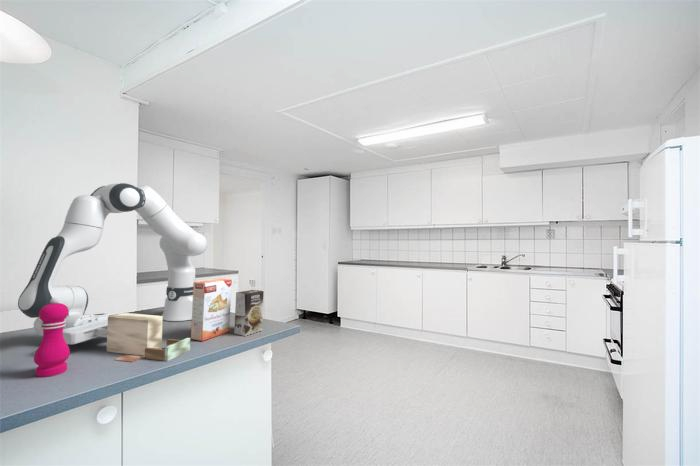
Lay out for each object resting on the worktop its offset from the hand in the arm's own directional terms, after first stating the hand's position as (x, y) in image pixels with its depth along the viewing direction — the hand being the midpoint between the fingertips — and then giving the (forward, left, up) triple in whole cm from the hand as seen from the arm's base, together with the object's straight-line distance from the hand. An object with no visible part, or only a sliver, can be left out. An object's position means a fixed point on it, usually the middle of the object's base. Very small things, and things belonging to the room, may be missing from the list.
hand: (115, 331), depth 109 cm
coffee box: (-29, +32, -6) cm, 44 cm away
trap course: (0, +13, -5) cm, 14 cm away
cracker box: (-21, +21, -6) cm, 30 cm away
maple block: (0, +8, -5) cm, 9 cm away
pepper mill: (+20, +1, -6) cm, 21 cm away
